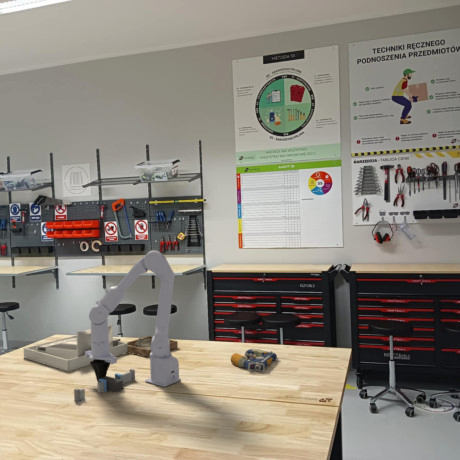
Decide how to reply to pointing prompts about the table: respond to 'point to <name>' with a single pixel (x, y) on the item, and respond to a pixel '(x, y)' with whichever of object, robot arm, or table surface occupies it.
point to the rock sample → (143, 343)
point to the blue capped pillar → (102, 387)
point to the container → (74, 345)
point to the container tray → (71, 363)
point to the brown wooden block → (147, 352)
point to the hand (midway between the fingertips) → (101, 381)
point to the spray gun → (254, 359)
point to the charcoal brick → (113, 384)
